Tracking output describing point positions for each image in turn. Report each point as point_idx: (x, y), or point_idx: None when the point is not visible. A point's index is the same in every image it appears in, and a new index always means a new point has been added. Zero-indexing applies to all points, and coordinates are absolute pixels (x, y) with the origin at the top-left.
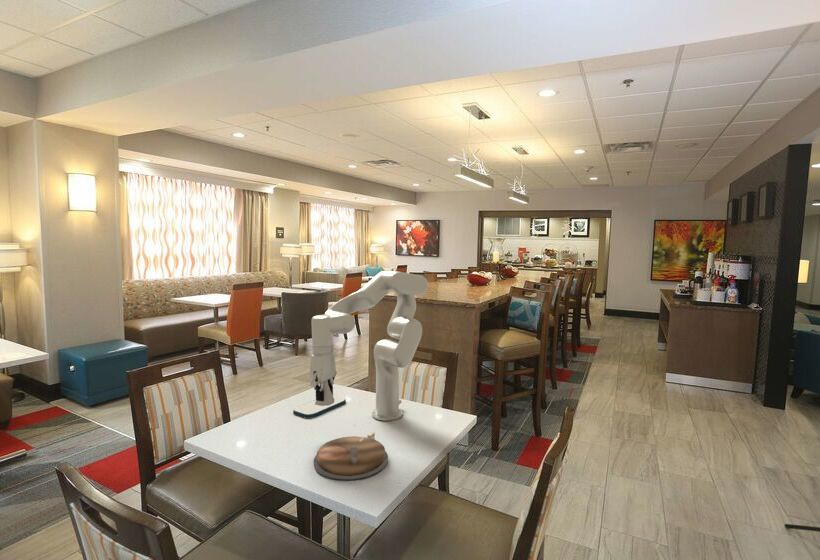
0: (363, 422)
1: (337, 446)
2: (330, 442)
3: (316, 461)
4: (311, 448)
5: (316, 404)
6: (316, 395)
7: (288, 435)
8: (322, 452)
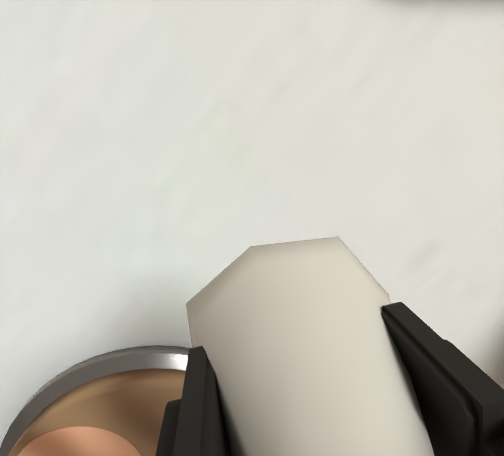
0: (468, 265)
1: (141, 447)
2: (145, 400)
3: (33, 415)
4: (115, 284)
5: (190, 326)
6: (160, 435)
7: (123, 60)
8: (48, 449)
